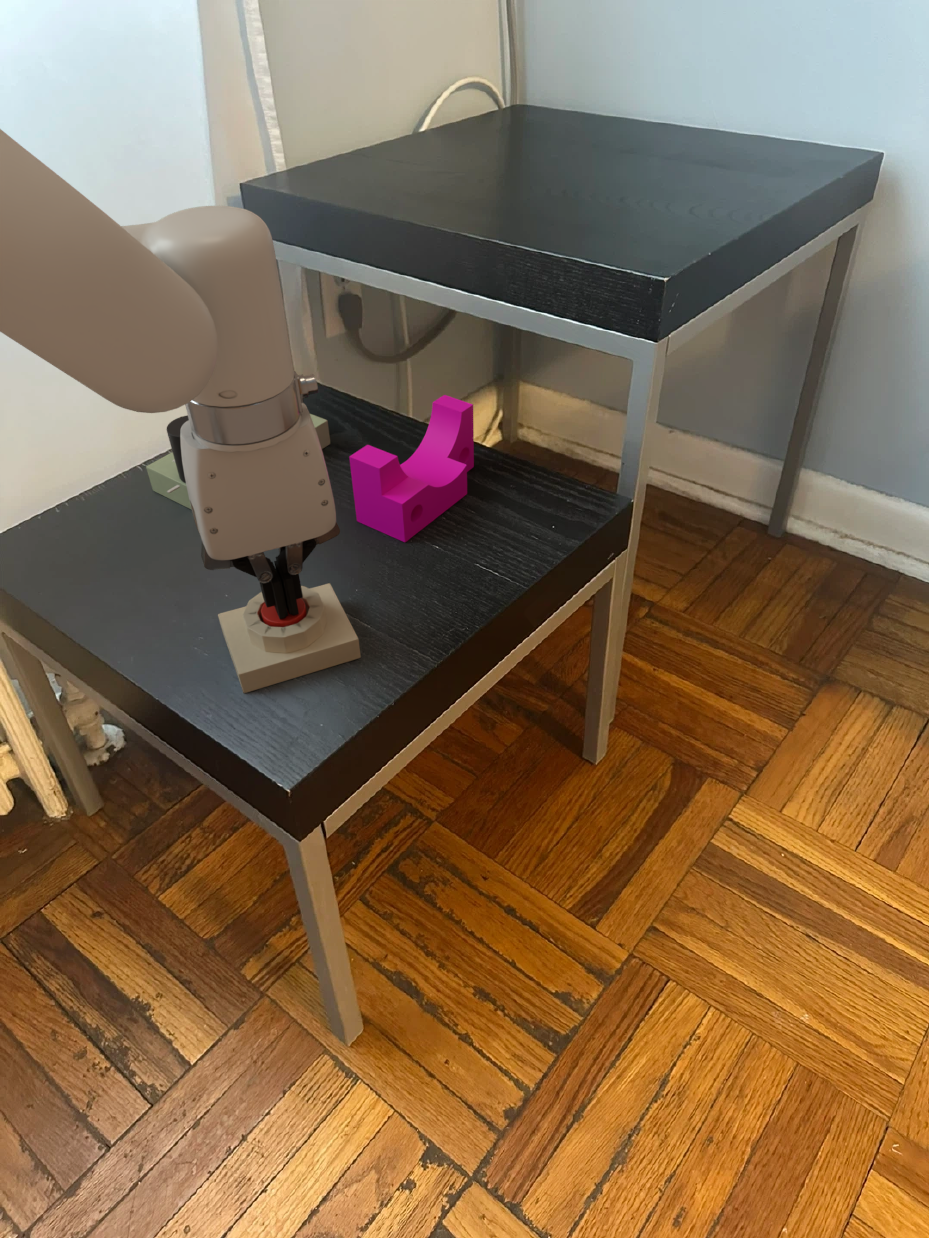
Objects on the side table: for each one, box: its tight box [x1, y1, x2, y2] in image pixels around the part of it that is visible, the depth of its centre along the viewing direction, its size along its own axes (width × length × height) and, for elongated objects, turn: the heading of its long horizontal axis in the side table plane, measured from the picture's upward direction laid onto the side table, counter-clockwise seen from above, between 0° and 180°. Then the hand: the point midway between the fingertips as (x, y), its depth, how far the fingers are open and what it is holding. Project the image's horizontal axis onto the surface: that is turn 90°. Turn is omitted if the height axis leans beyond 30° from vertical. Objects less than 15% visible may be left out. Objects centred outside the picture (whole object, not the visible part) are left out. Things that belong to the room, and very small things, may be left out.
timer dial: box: [166, 414, 189, 483], centre depth 88 cm, size 4×4×6 cm
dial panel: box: [145, 413, 331, 511], centre depth 95 cm, size 20×10×3 cm, turn 144°
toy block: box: [348, 394, 475, 543], centre depth 89 cm, size 15×6×8 cm, turn 144°
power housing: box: [217, 582, 362, 694], centre depth 74 cm, size 10×8×4 cm
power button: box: [261, 598, 307, 627], centre depth 73 cm, size 4×4×2 cm
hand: (284, 606), depth 73 cm, fingers closed
